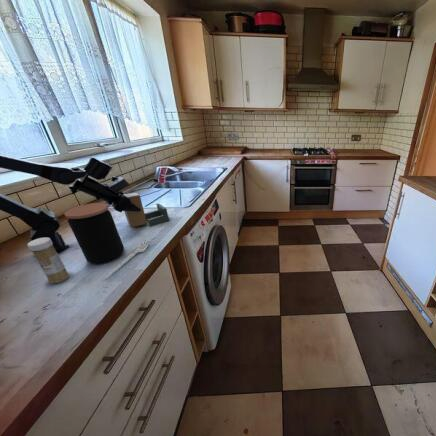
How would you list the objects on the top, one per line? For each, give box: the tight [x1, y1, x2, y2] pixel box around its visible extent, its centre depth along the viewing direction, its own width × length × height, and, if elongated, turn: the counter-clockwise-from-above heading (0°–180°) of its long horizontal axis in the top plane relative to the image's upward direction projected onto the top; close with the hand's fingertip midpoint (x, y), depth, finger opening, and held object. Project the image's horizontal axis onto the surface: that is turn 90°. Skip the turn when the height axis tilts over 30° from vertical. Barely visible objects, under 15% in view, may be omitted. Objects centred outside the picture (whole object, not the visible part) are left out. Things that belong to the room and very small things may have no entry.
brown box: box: [123, 192, 148, 228], centre depth 97 cm, size 6×6×13 cm
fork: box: [104, 239, 150, 279], centre depth 77 cm, size 3×20×2 cm, turn 177°
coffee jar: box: [63, 202, 125, 265], centre depth 75 cm, size 11×11×18 cm
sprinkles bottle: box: [26, 237, 70, 284], centre depth 66 cm, size 5×5×14 cm
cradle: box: [144, 202, 170, 227], centre depth 103 cm, size 8×9×6 cm
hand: (137, 208), depth 98 cm, fingers closed on brown box, 7 cm apart
